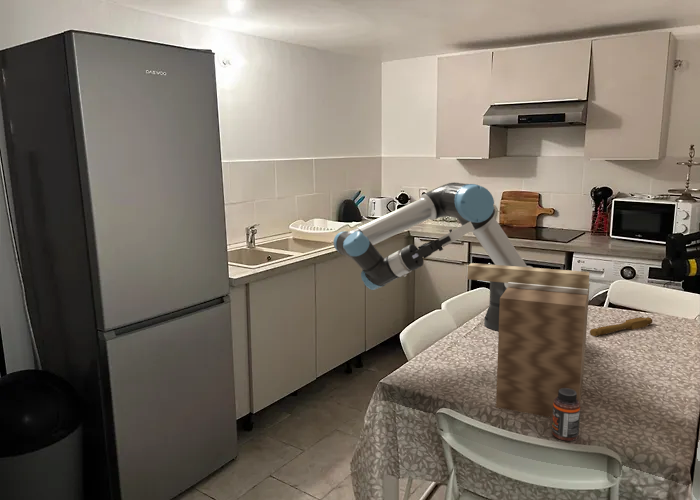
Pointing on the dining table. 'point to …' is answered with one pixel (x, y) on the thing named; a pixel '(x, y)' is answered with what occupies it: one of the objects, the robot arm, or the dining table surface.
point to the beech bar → (528, 275)
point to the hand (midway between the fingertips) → (467, 228)
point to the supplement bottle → (566, 415)
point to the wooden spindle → (622, 326)
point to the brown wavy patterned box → (540, 346)
